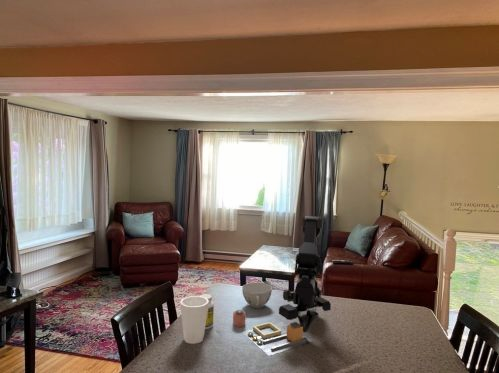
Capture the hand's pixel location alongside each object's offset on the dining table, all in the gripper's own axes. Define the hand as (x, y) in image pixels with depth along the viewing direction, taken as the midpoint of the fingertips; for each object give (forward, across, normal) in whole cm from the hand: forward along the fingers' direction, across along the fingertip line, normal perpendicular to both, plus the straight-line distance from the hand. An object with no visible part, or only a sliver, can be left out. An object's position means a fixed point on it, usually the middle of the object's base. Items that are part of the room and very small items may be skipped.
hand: (304, 331), depth 121 cm
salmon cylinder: (+2, +16, -18) cm, 24 cm away
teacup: (+3, 0, -30) cm, 30 cm away
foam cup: (+3, +34, -17) cm, 38 cm away
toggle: (+2, +4, 0) cm, 4 cm away
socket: (+2, +10, -9) cm, 13 cm away
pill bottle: (+3, +26, -24) cm, 36 cm away
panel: (+2, +9, -4) cm, 10 cm away
